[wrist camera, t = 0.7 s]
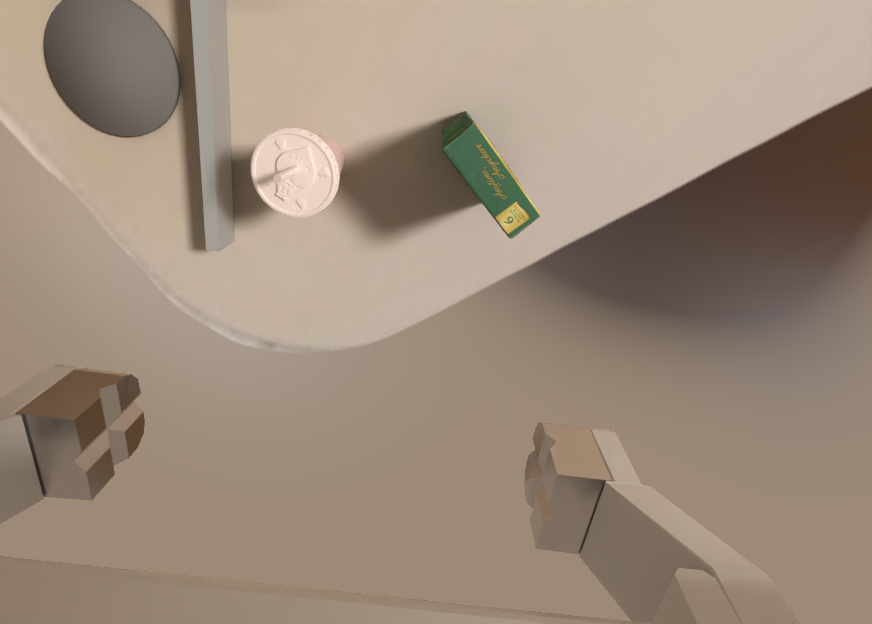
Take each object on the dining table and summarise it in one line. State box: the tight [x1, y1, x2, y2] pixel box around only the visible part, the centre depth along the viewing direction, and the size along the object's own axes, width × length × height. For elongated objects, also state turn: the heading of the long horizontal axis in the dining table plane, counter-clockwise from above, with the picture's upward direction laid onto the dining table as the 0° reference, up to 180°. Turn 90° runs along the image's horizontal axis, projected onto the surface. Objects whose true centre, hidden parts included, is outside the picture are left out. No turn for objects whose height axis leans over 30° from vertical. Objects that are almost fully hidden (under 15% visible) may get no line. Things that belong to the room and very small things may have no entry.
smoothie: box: [251, 128, 344, 218], centre depth 38 cm, size 6×6×14 cm
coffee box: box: [442, 111, 540, 239], centre depth 38 cm, size 8×3×13 cm, turn 38°
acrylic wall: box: [190, 0, 234, 252], centre depth 42 cm, size 22×1×4 cm, turn 172°
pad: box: [44, 0, 181, 136], centre depth 42 cm, size 11×11×1 cm
